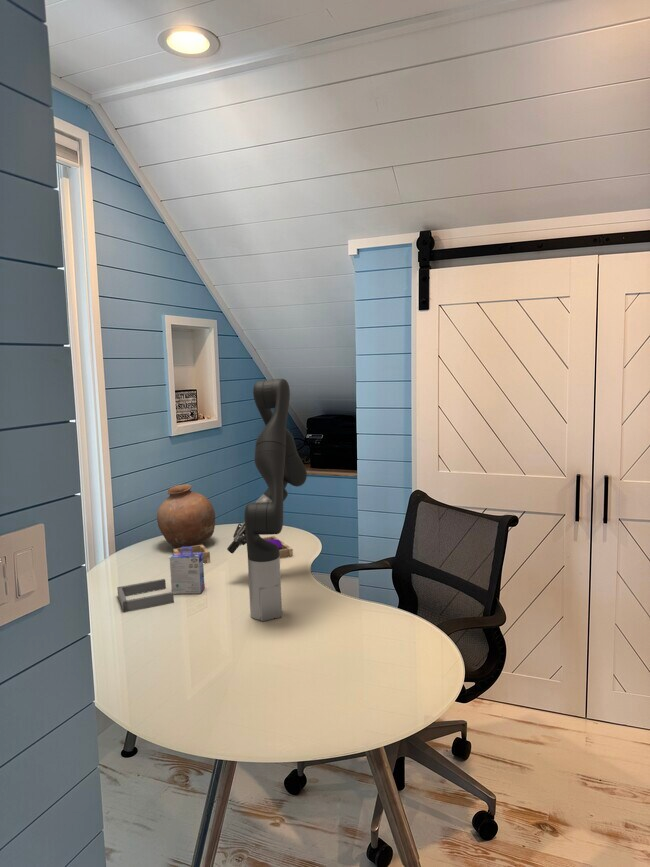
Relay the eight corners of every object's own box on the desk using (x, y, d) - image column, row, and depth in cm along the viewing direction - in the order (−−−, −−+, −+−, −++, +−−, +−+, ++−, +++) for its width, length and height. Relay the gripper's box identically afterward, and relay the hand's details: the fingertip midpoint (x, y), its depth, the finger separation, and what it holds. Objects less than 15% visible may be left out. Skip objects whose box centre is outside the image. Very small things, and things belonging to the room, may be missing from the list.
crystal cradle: (292, 556, 227) (292, 548, 227) (268, 560, 223) (267, 553, 223) (273, 542, 246) (273, 535, 245) (250, 546, 241) (250, 539, 241)
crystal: (263, 536, 242) (285, 540, 231) (265, 548, 243) (286, 552, 231) (253, 538, 239) (275, 542, 228) (255, 550, 240) (276, 555, 228)
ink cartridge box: (205, 587, 198) (203, 545, 197) (201, 593, 193) (199, 550, 191) (175, 588, 199) (173, 545, 197) (171, 594, 193) (168, 550, 192)
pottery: (224, 538, 255) (220, 480, 252) (203, 555, 232) (200, 492, 229) (173, 537, 259) (170, 480, 256) (148, 554, 236) (144, 491, 233)
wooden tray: (210, 562, 223) (209, 552, 223) (180, 567, 219) (179, 557, 218) (202, 554, 234) (202, 544, 233) (173, 559, 229) (173, 549, 228)
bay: (174, 602, 187) (173, 592, 186) (123, 612, 180) (123, 602, 180) (165, 587, 200) (164, 578, 199) (117, 596, 193) (117, 587, 193)
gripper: (248, 500, 209) (216, 540, 205) (261, 508, 197) (226, 550, 193) (263, 513, 212) (231, 552, 208) (277, 522, 200) (243, 563, 196)
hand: (229, 551), depth 201 cm, fingers closed
